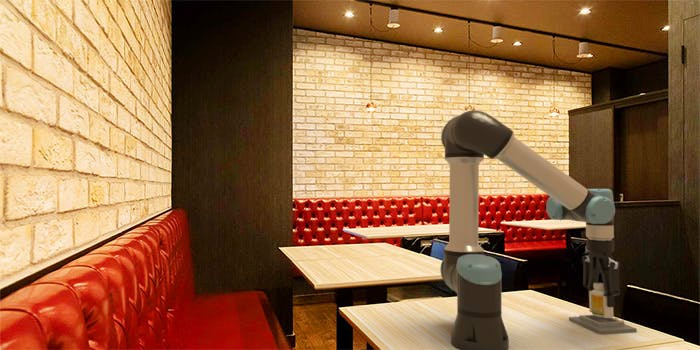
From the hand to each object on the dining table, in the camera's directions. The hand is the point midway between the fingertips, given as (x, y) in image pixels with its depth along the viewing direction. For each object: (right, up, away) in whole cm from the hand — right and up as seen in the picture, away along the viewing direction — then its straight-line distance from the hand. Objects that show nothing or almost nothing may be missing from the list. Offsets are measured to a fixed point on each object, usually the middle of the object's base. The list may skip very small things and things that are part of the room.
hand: (601, 314), depth 139 cm
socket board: (0, -4, 0) cm, 4 cm away
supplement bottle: (0, -1, 0) cm, 1 cm away
